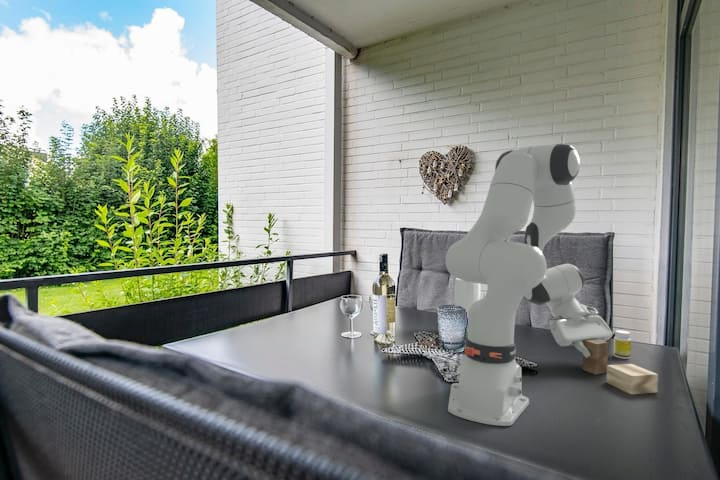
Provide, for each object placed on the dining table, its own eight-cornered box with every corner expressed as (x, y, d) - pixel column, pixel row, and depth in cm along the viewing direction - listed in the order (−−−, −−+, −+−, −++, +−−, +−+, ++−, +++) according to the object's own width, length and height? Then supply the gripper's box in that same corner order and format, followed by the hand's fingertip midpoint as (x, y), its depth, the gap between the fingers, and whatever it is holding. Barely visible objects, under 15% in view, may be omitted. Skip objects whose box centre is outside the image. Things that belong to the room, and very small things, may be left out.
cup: (483, 331, 161) (484, 278, 160) (475, 337, 152) (477, 281, 152) (458, 327, 167) (459, 276, 166) (449, 333, 158) (450, 279, 157)
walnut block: (595, 374, 116) (597, 344, 115) (582, 369, 120) (583, 339, 120) (606, 372, 117) (608, 342, 117) (593, 367, 122) (594, 338, 121)
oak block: (631, 395, 102) (631, 376, 102) (606, 383, 110) (607, 365, 110) (657, 393, 104) (658, 374, 104) (631, 381, 112) (631, 363, 112)
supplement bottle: (632, 359, 130) (634, 334, 129) (616, 358, 130) (617, 333, 130) (626, 355, 134) (627, 330, 134) (610, 353, 135) (611, 329, 135)
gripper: (551, 312, 121) (577, 353, 112) (599, 308, 128) (628, 347, 119) (539, 323, 125) (564, 364, 116) (586, 318, 132) (613, 357, 124)
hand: (597, 355), depth 118 cm, fingers closed on walnut block, 4 cm apart
